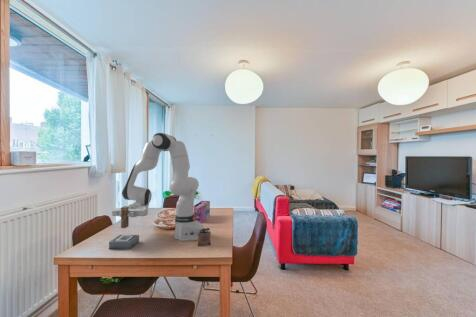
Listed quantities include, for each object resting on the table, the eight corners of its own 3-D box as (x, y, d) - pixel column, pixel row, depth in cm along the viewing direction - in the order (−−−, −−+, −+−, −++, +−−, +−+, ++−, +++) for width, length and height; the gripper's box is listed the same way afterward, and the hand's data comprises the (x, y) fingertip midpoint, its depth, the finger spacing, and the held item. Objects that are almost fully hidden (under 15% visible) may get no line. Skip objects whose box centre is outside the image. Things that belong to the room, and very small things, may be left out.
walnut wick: (128, 226, 140) (128, 206, 140) (125, 228, 136) (125, 207, 136) (124, 226, 140) (124, 206, 140) (121, 228, 136) (121, 207, 136)
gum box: (201, 224, 183) (202, 206, 183) (192, 223, 184) (192, 206, 184) (209, 216, 207) (210, 201, 207) (201, 215, 208) (201, 200, 208)
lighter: (198, 246, 137) (198, 229, 136) (196, 244, 140) (197, 228, 140) (211, 244, 140) (211, 228, 140) (209, 243, 143) (209, 226, 143)
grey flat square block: (139, 241, 144) (139, 234, 144) (130, 249, 132) (130, 241, 132) (119, 241, 144) (119, 234, 144) (109, 248, 132) (109, 241, 132)
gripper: (118, 204, 151) (106, 209, 137) (149, 205, 151) (141, 210, 137) (118, 214, 151) (106, 220, 137) (149, 214, 151) (141, 220, 137)
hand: (124, 215), depth 137 cm, fingers closed on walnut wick, 2 cm apart
